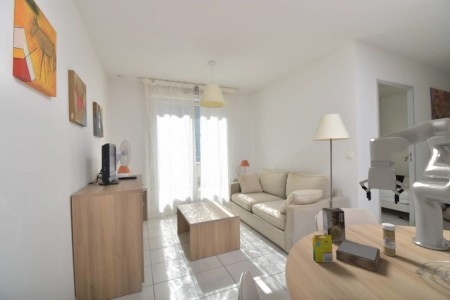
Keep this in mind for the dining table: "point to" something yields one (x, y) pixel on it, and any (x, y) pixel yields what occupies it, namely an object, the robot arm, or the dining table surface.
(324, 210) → the coffee box
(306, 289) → the dining table surface
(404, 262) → the dining table surface
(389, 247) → the spice jar
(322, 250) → the crayon box
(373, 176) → the robot arm
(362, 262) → the walnut plinth
